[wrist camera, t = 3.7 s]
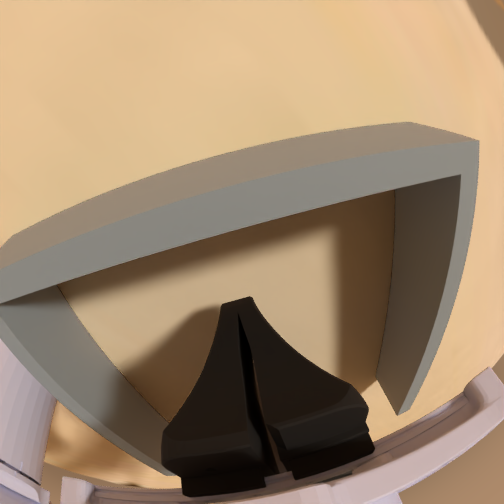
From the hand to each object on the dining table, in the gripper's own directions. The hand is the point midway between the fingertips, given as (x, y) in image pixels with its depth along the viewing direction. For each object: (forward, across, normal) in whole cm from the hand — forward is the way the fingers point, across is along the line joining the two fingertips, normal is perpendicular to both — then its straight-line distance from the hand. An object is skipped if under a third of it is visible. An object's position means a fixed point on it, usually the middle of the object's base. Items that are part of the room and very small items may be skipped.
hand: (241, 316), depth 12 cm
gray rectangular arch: (+2, 0, +4) cm, 5 cm away
